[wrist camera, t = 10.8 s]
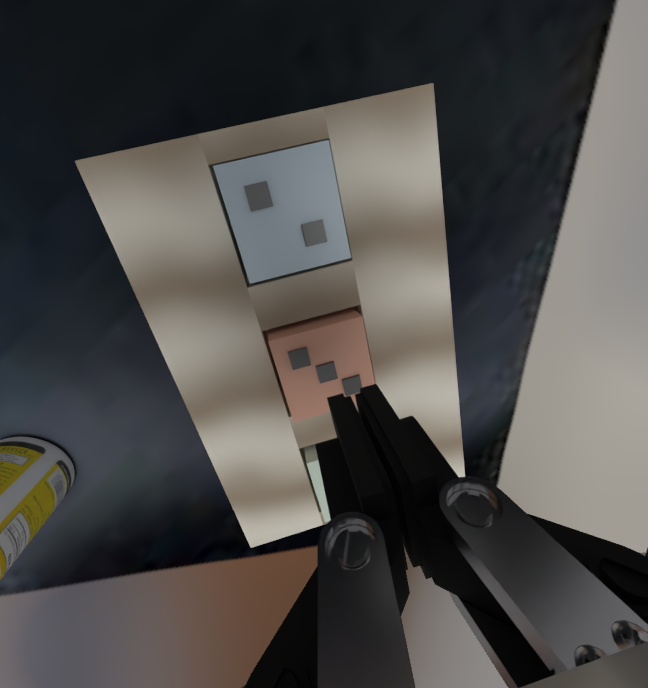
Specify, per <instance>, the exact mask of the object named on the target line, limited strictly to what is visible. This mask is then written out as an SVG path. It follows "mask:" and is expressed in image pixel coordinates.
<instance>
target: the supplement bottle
mask: <svg viewBox="0 0 648 688" xmlns="http://www.w3.org/2000/svg"><path fill="white" fill-rule="evenodd" d="M74 477H75V472H74V466H73V464H72V462H71V460H70V459H69V457H68V456H67V455H66V454H65V453H64V452H63V451H62V450H61V449H59V448H58V447H56V446H55V445H53V444H51V443H49V442H46V441H44V440H40V439H37V438H31V437H11V438H6V439H2V440H0V580H1V578H2V577H3V576H4V574H5V573H6V572H7V570H8V569H9V568H10V567H11V565H12V564H13V562H14V561H15V560H16V559H17V557H18V556H19V555H20V553H21V552H22V551H23V550H24V549H25V547H26V546H27V545H28V543H29V542H30V541H31V539H32V538H33V537H34V536H35V534H36V533H37V532H38V530H39V529H40V528H41V527H42V525H43V524H44V523H45V521H46V520H47V519H48V517H49V516H50V515H51V514H52V512H53V511H54V510H55V508H56V507H57V506H58V504H59V503H60V502H61V501H62V499H63V498H64V497H65V495H66V494H67V493H68V491H69V490H70V488H71V486H72V484H73V481H74Z"/></svg>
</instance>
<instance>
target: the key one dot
mask: <svg viewBox="0 0 648 688" xmlns="http://www.w3.org/2000/svg"><path fill="white" fill-rule="evenodd" d="M304 451H305V457H306V463H307V467H308V470H309V473H310V476H311V479H312V483H313V486H314V489H315V492H316V495H317V498H318V502H319V505H320V508H321V511H322V514H323V517H324V521H325V522H328V521H330V520H331V519H330V514H329V509H328V505H327V500H326V495H325V490H324V485H323V481H322V476H321V471H320V466H319V461H318V456H317V452H316V447H315V444H313V445H310V446H307V447H304Z"/></svg>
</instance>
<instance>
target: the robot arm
mask: <svg viewBox="0 0 648 688" xmlns="http://www.w3.org/2000/svg"><path fill="white" fill-rule="evenodd" d="M355 398H356V403H357V408H358V411H357V409H356V406H355V404H354V402H353V400H352V398H351V396H347V397H344V394H343V393H341V394H338V395H334V396H331V397H327V400H328V404H329V408H330V412H331V416H332V420H333V424H334V428H335V431H336V435H337V438H334V439H330V440H327V441H324V442H320V443H317V444H315V447H316V452H317V456H318V461H319V466H320V471H321V476H322V481H323V485H324V490H325V495H326V500H327V505H328V509H329V514H330V519H331V520H330V521H329V522H328V524H327V525H326V526H325V527H324V528H323V530H322V532H321V535H320V537H319V542H318V566H317V568H316V570H315V571H314V573H313V574H312V576H311V577H310V579H309V581H308V582H307V584H306V586H305V587H304V589H303V590H302V592H301V594H300V595H299V597H298V599H297V600H296V602H295V603H294V605H293V607H292V608H291V610H290V612H289V613H288V615H287V617H286V618H285V620H284V621H283V623H282V625H281V626H280V628H279V629H278V631H277V633H276V634H275V636H274V638H273V639H272V641H271V642H270V644H269V646H268V647H267V649H266V650H265V652H264V654H263V655H262V657H261V659H260V660H259V662H258V663H257V665H256V667H255V669H254V670H253V672H252V673H251V675H250V677H249V679H248V681H247V684H246V685H245V686H244V687H242V688H415V683H414V679H413V674H412V668H411V664H410V659H409V654H408V649H407V644H406V639H405V634H404V630H403V624H402V619H401V614H402V612H403V609H404V606H405V604H406V601H407V598H408V596H409V593H410V592H409V586H408V581H407V575H406V570H407V569H408V568H407V562H406V557H405V551H404V547H405V549H406V552H407V554H408V556H409V559H410V561H411V563H412V565H413V567H417V566H421V568H422V571H423V573H424V575H425V578H426V579H428V578H431V577H432V579H433V581H434V583H435V584H436V585H438V586H440V587H441V588H443V589H445V590H447V591H449V593H450V595H451V597H452V599H453V601H454V603H455V605H456V606H457V608H458V609H459V611H460V613H461V614H462V616H463V617H464V619H465V620H466V622H467V623H468V625H469V627H470V628H471V630H472V631H473V633H474V635H475V636H476V638H477V639H478V641H479V642H480V644H481V646H482V647H483V648H484V650H485V652H486V653H487V655H488V657H489V658H490V660H491V661H492V663H493V664H494V666H495V668H496V669H497V670H498V672H499V674H500V675H501V677H502V678H503V680H504V682H505V683H506V685H507V686H508V688H648V548H647V551H646V553H638V552H636V551H634V550H631V549H629V548H627V547H625V546H622V545H619V544H616V543H613V542H610V541H607V540H604V539H601V538H598V537H595V536H592V535H589V534H586V533H583V532H580V531H577V530H574V529H571V528H568V527H565V526H562V525H560V524H556V523H554V522H551V521H547V520H545V519H541V518H538V517H536V516H533V515H530V514H526V513H525V512H524V511H523V510H522V509H521V508H520V507H519V506H518V505H516V504H515V503H514V502H513V501H512V500H511V499H510V498H509V497H508V496H507V495H506V494H504V493H503V492H502V491H501V490H500V489H499V488H497V487H496V486H495V485H493V484H492V483H490V482H487V481H485V480H483V479H480V478H475V477H458V475H457V474H456V473H455V471H454V470H453V469H452V467H451V466H450V465H449V463H448V462H447V461H446V459H445V458H444V456H443V455H442V454H441V452H440V451H439V450H438V448H437V447H436V446H435V444H434V443H433V442H432V440H431V439H430V437H429V436H428V435H427V433H426V432H425V431H424V429H423V428H422V427H421V425H420V424H419V423H418V421H417V420H416V419H415V418H414V417H413V416H408V417H405V418H402V419H399V417H398V416H397V414H396V413H395V411H394V410H393V408H392V407H391V405H390V404H389V402H388V401H387V399H386V398H385V396H384V395H383V393H382V392H381V390H380V389H379V387H378V385H377V384H373V385H370V386H366V387H363V388H360V393H358V394H355ZM358 412H359V413H358ZM403 544H404V545H403Z"/></svg>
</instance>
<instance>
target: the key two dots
mask: <svg viewBox="0 0 648 688" xmlns="http://www.w3.org/2000/svg"><path fill="white" fill-rule="evenodd" d="M213 168H214V172H215V175H216V178H217V181H218V184H219V187H220V191H221V194H222V197H223V200H224V203H225V206H226V210H227V213H228V216H229V219H230V222H231V225H232V229H233V232H234V235H235V238H236V241H237V244H238V248H239V251H240V254H241V257H242V260H243V264H244V267H245V270H246V273H247V276H248V279H249V283H250V284H251V283H255V282H259V281H263V280H267V279H271V278H275V277H279V276H283V275H286V274H290V273H294V272H298V271H302V270H306V269H310V268H314V267H318V266H322V265H325V264H329V263H333V262H337V261H341V260H345V259H349V258H351V254H350V249H349V244H348V239H347V233H346V228H345V223H344V217H343V212H342V207H341V202H340V196H339V191H338V186H337V181H336V175H335V170H334V165H333V160H332V154H331V149H330V144H329V140H326V141H321V142H317V143H313V144H308V145H304V146H299V147H295V148H290V149H286V150H282V151H277V152H273V153H268V154H264V155H259V156H255V157H251V158H246V159H242V160H237V161H233V162H228V163H224V164H220V165H215V166H213Z"/></svg>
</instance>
